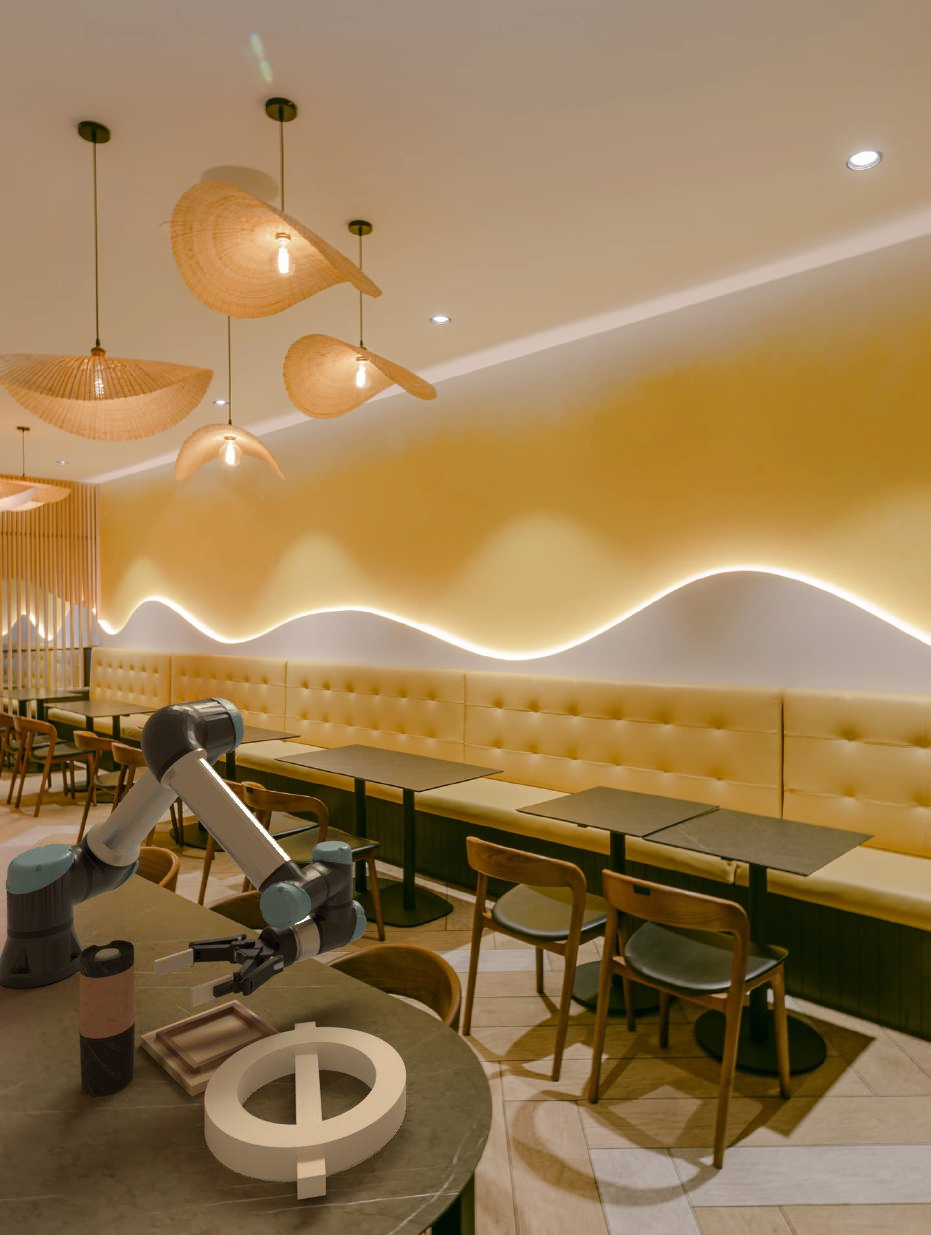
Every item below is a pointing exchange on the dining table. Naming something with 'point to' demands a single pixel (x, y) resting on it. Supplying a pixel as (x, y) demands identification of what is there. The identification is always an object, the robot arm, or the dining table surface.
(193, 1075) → the board
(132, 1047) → the travel mug
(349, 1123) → the ring with crossbar
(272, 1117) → the dining table surface
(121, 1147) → the dining table surface
